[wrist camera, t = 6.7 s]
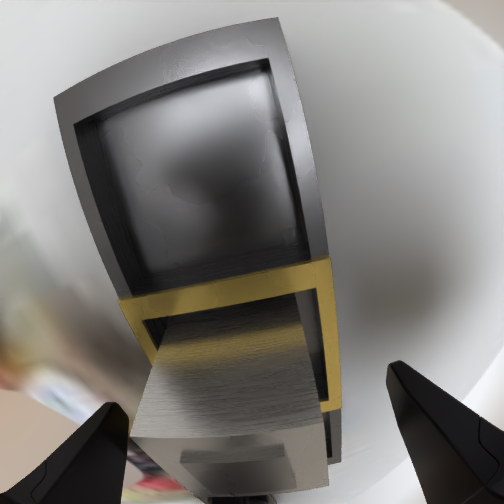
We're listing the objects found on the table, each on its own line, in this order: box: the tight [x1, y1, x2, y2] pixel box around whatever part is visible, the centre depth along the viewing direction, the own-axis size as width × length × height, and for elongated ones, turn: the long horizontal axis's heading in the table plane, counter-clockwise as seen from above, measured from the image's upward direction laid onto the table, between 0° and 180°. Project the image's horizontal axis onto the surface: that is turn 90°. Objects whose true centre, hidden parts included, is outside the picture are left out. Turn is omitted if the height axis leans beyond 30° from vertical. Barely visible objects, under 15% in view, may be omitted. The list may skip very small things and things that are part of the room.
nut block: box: [130, 293, 329, 497], centre depth 8 cm, size 4×4×6 cm
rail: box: [54, 17, 342, 465], centre depth 10 cm, size 20×6×2 cm, turn 13°
